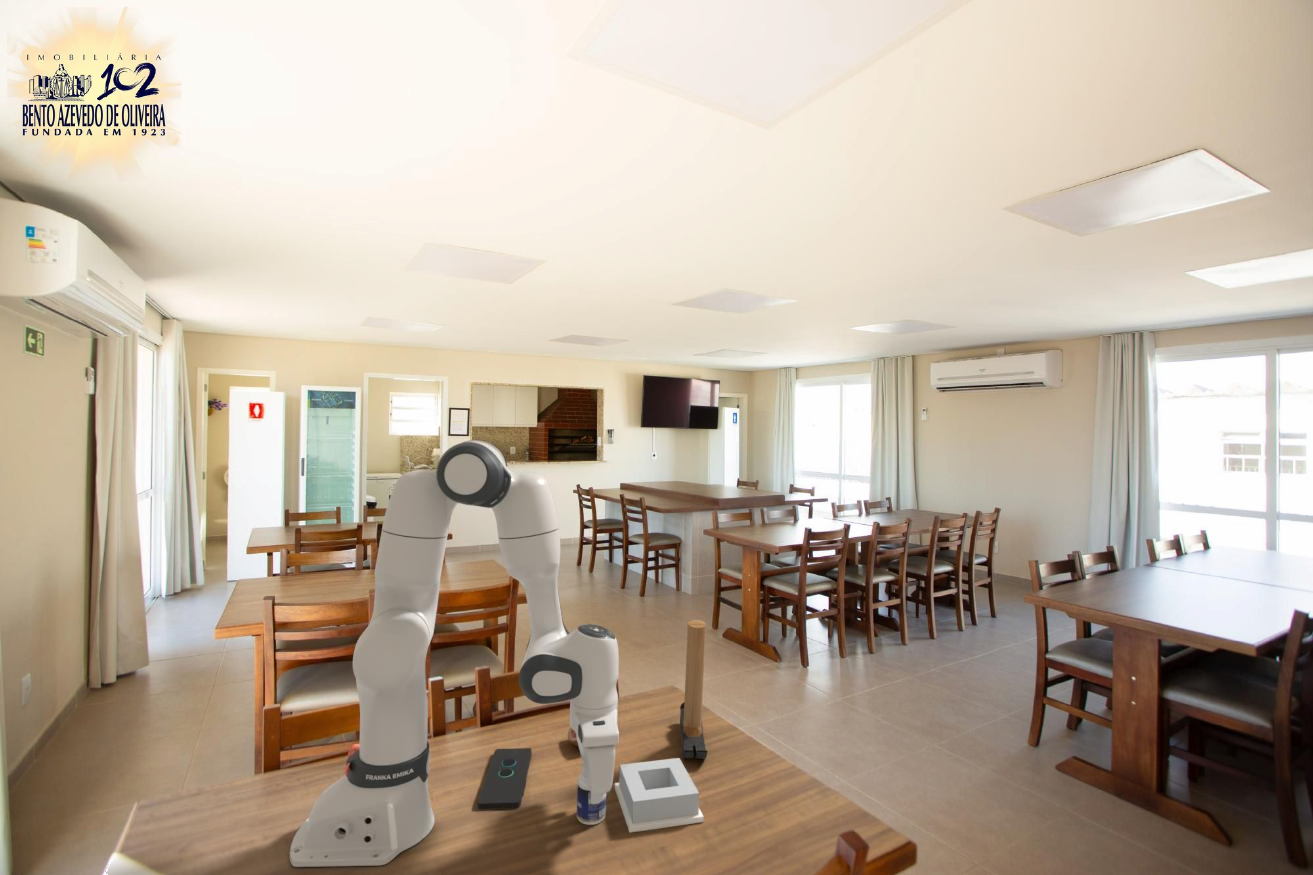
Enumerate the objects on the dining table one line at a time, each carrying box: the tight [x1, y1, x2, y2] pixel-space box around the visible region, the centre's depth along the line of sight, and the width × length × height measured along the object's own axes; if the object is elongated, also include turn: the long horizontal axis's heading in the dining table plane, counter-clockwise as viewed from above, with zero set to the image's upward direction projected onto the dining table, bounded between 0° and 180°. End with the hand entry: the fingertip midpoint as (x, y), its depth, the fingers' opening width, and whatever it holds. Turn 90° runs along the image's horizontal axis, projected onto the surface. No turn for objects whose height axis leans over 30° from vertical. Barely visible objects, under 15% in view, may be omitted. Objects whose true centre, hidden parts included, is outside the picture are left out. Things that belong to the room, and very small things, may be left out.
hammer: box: [679, 619, 708, 760], centre depth 137 cm, size 20×5×30 cm, turn 1°
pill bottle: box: [576, 762, 607, 826], centre depth 111 cm, size 5×5×10 cm
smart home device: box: [477, 747, 533, 810], centre depth 123 cm, size 8×2×20 cm
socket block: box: [614, 757, 705, 834], centre depth 116 cm, size 14×14×5 cm
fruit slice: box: [567, 726, 579, 747], centre depth 137 cm, size 8×7×5 cm
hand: (591, 789), depth 111 cm, fingers open, 6 cm apart
